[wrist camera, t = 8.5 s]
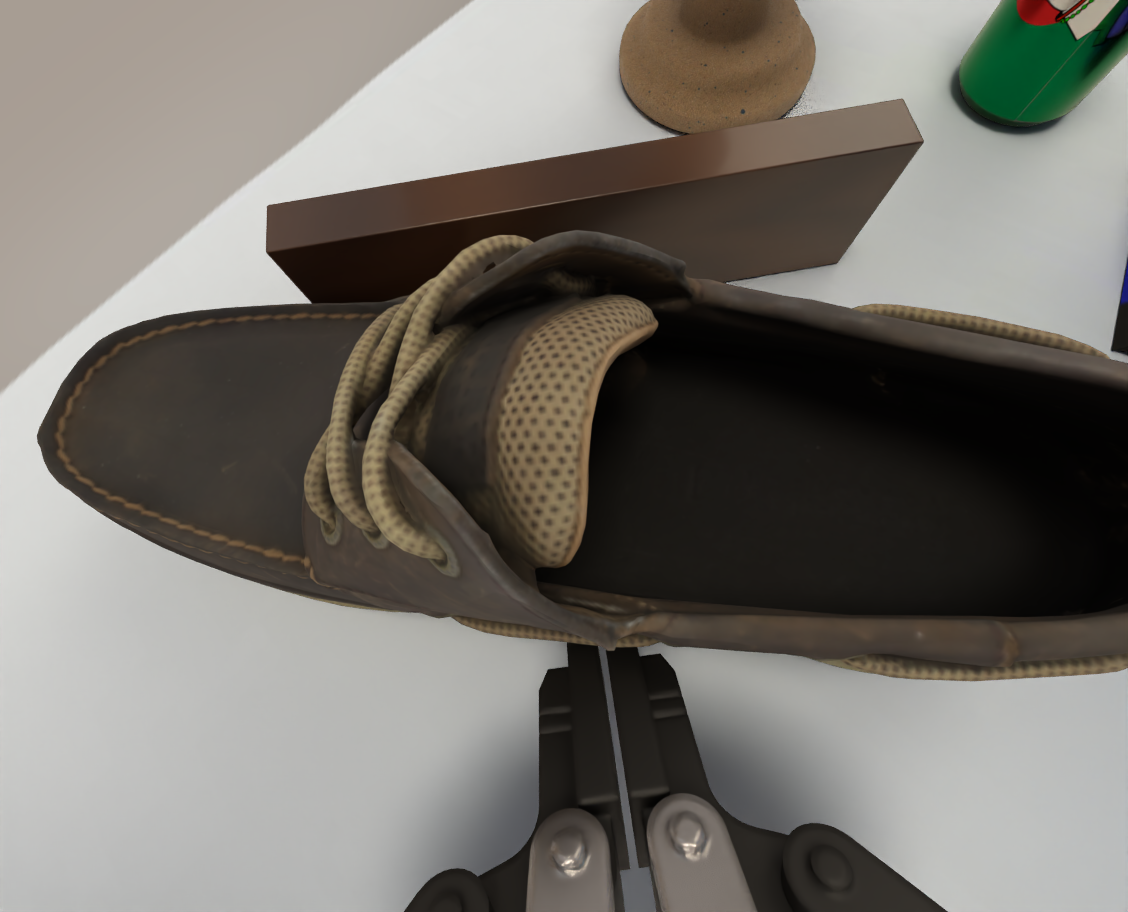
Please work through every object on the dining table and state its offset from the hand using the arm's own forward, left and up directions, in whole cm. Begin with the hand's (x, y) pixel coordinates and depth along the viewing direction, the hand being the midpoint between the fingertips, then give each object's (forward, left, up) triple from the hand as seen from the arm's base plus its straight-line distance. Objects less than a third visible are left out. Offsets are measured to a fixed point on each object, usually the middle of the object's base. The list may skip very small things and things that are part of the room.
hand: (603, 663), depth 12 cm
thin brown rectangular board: (+13, +5, -5) cm, 15 cm away
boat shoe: (+5, +3, -5) cm, 8 cm away
